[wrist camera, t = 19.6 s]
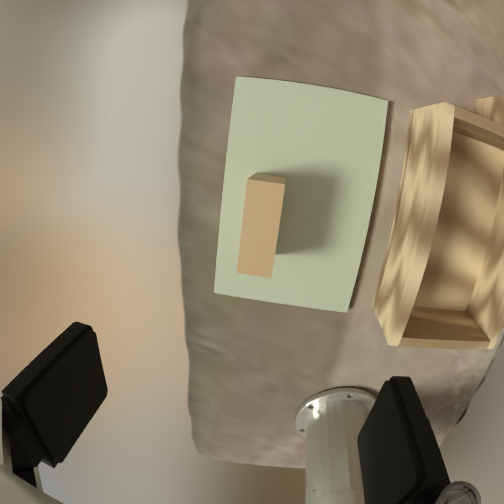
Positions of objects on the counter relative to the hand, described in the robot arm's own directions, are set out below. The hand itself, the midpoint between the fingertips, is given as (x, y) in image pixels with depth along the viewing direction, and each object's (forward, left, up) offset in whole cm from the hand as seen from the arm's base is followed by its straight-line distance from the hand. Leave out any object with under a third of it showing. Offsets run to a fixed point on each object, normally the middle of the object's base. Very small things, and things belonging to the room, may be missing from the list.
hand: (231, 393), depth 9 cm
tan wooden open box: (+4, -20, -24) cm, 32 cm away
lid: (+2, -2, -25) cm, 25 cm away
